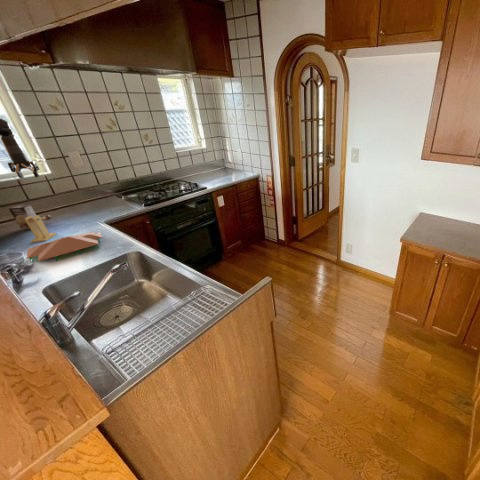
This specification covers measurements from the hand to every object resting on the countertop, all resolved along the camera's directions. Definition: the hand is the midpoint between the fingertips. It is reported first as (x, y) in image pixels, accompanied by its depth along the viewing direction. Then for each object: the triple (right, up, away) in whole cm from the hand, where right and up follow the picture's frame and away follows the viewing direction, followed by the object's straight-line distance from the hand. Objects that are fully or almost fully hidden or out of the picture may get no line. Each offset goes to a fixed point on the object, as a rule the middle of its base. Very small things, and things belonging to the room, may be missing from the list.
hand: (29, 177), depth 175 cm
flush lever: (+16, -30, -7) cm, 35 cm away
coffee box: (-8, -33, +9) cm, 35 cm away
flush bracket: (+17, -41, -7) cm, 45 cm away
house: (+48, -48, -22) cm, 72 cm away
